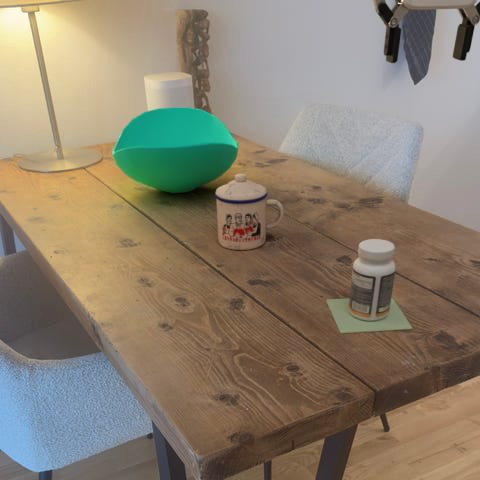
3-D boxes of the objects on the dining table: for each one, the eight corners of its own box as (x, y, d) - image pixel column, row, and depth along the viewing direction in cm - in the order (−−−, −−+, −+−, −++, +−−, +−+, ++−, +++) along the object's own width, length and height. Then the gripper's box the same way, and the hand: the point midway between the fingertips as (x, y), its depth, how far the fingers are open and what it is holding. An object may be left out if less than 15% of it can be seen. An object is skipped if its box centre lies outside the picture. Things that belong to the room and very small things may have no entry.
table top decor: (248, 213, 115) (248, 142, 107) (112, 221, 113) (100, 149, 105) (231, 162, 146) (229, 104, 138) (123, 168, 144) (115, 109, 136)
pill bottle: (379, 302, 83) (389, 235, 77) (394, 320, 79) (406, 251, 72) (342, 305, 82) (349, 239, 76) (355, 324, 78) (363, 255, 72)
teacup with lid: (217, 252, 100) (213, 183, 92) (217, 233, 107) (214, 168, 99) (284, 250, 100) (287, 181, 92) (280, 231, 107) (281, 166, 99)
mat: (391, 296, 85) (391, 295, 85) (412, 329, 77) (412, 328, 77) (325, 300, 84) (325, 299, 84) (340, 333, 76) (340, 332, 76)
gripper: (390, -110, 65) (371, 66, 75) (535, -113, 66) (496, 61, 76) (372, -103, 71) (357, 59, 81) (506, -106, 71) (474, 55, 82)
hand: (425, 60), depth 79 cm, fingers open, 9 cm apart
